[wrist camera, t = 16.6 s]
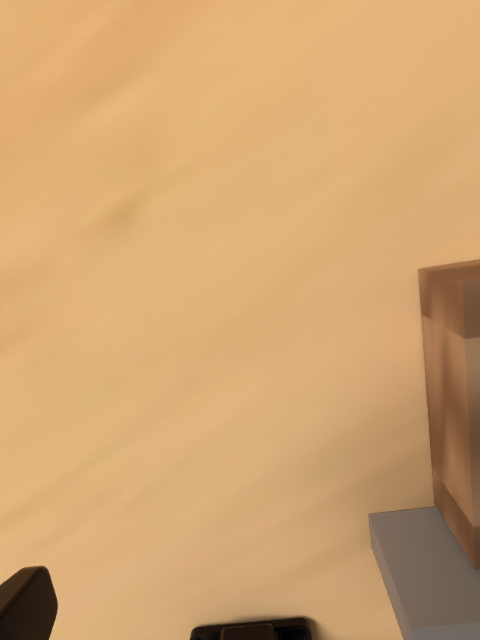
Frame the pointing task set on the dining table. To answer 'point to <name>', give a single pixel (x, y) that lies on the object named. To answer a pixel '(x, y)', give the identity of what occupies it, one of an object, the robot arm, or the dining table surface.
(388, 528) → the slab
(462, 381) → the brown square frame
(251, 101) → the dining table surface
